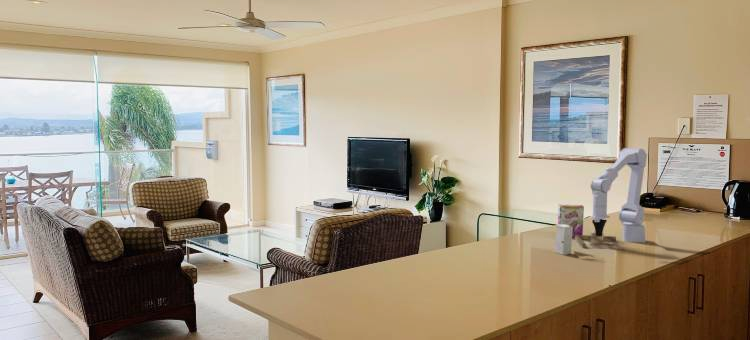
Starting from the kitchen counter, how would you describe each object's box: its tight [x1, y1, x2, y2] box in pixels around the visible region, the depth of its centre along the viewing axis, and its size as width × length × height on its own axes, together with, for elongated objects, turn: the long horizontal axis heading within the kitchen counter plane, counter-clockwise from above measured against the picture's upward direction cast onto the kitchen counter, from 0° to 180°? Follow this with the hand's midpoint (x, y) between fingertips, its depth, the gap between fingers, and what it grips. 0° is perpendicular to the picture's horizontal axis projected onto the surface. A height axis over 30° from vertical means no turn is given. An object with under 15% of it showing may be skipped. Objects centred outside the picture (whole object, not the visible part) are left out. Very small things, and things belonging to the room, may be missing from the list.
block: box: [590, 230, 605, 245], centre depth 268 cm, size 5×5×5 cm
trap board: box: [574, 234, 626, 251], centre depth 265 cm, size 18×20×3 cm
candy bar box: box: [557, 203, 585, 238], centre depth 284 cm, size 11×5×16 cm, turn 84°
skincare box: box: [554, 224, 573, 256], centre depth 251 cm, size 6×4×12 cm
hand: (599, 235), depth 262 cm, fingers closed
